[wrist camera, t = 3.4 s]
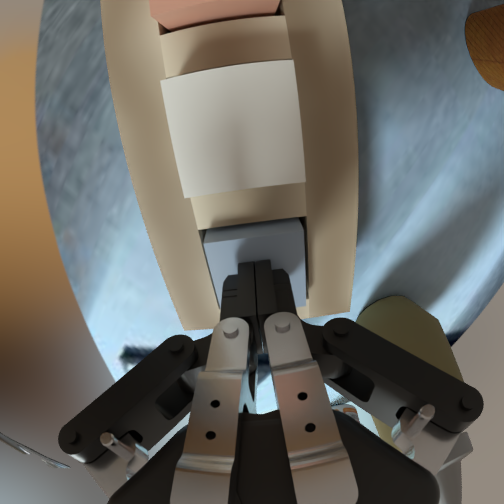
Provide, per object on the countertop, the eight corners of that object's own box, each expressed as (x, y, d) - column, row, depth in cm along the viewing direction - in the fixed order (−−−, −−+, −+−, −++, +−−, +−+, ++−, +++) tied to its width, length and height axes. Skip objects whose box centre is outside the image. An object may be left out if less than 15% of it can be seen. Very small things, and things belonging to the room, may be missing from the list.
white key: (280, 68, 10) (293, 59, 7) (291, 160, 13) (305, 182, 10) (181, 83, 11) (160, 80, 8) (198, 172, 13) (184, 198, 10)
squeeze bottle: (389, 352, 25) (441, 510, 10) (324, 344, 23) (363, 543, 8) (437, 292, 21) (527, 464, 6) (373, 273, 19) (472, 513, 4)
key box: (302, -53, 8) (316, -84, 4) (333, 272, 19) (349, 311, 16) (128, -25, 8) (99, -48, 5) (193, 289, 20) (184, 330, 16)
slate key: (292, 201, 15) (303, 231, 12) (296, 268, 17) (306, 306, 14) (211, 212, 15) (203, 243, 12) (225, 277, 17) (222, 315, 15)
